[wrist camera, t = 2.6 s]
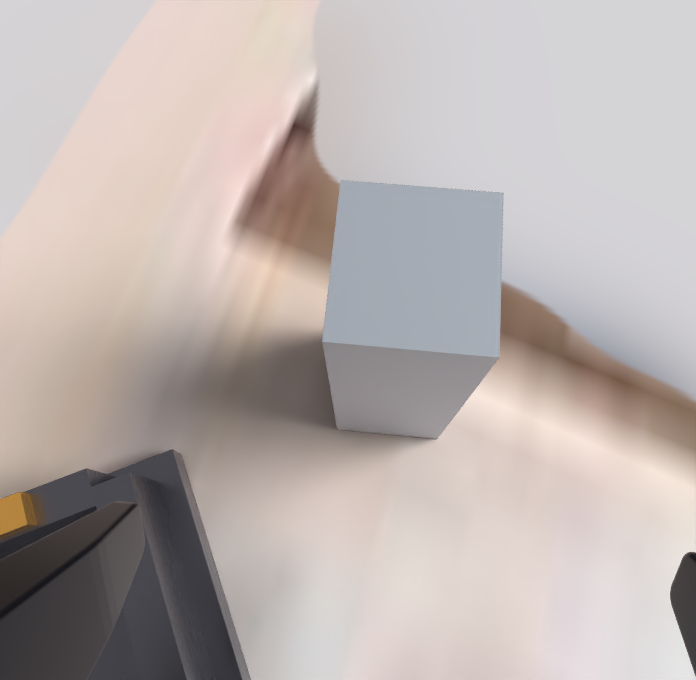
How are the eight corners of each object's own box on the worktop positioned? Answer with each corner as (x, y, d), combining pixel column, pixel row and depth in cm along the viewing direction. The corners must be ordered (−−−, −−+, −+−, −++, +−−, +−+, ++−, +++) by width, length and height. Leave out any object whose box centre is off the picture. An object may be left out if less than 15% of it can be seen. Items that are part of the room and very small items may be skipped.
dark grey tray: (258, 704, 21) (231, 748, 17) (-37, 832, 20) (-152, 917, 16) (181, 454, 24) (139, 432, 19) (-84, 556, 23) (-194, 559, 18)
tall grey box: (436, 439, 24) (499, 357, 13) (336, 429, 24) (322, 341, 14) (442, 338, 25) (503, 192, 15) (347, 330, 25) (340, 180, 15)
